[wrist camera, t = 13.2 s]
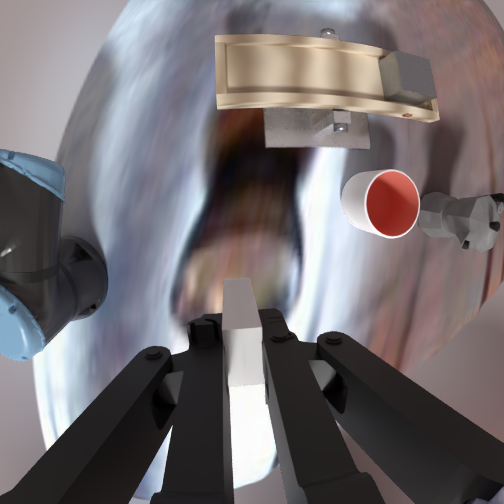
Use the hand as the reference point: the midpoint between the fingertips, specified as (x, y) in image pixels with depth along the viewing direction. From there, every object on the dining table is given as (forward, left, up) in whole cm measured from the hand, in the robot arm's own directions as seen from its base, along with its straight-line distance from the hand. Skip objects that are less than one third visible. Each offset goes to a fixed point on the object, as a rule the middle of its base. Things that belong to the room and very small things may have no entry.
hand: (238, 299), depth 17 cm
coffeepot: (+40, +2, -31) cm, 50 cm away
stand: (+15, +22, -30) cm, 40 cm away
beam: (+15, +22, -20) cm, 34 cm away
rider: (+25, +22, -19) cm, 38 cm away
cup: (+23, +4, -31) cm, 39 cm away
